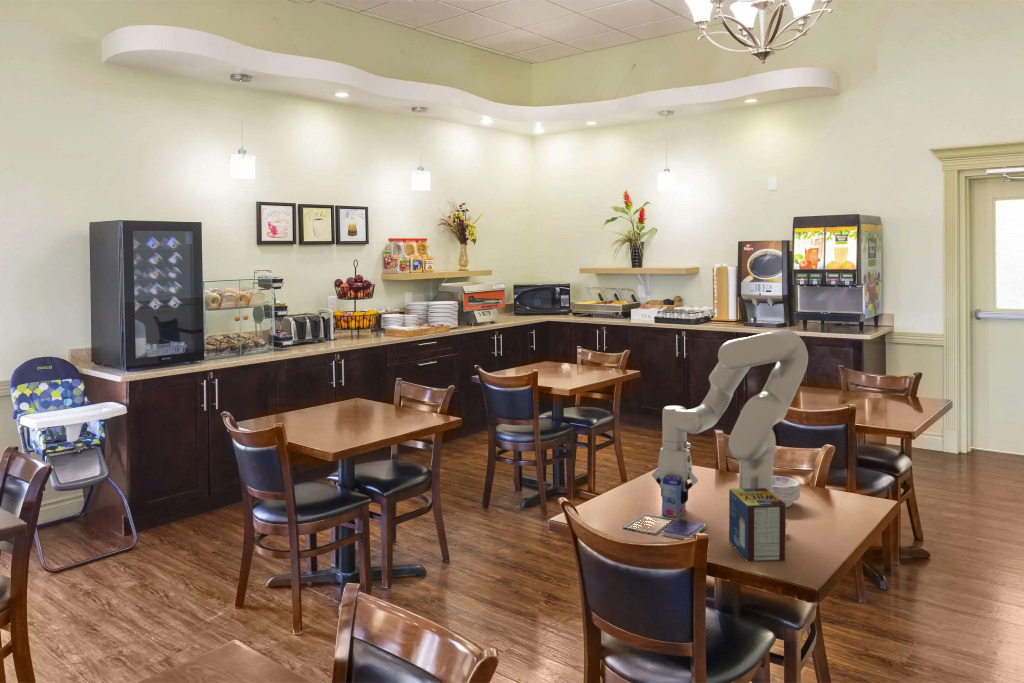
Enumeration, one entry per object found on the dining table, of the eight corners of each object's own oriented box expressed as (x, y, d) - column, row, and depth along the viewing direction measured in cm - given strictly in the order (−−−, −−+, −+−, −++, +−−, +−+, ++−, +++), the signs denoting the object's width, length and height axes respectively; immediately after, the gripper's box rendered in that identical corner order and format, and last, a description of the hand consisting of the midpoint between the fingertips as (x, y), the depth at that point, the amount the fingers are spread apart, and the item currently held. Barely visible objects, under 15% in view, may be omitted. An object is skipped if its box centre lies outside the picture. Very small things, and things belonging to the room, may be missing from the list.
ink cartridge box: (678, 518, 238) (678, 472, 237) (661, 515, 241) (661, 470, 239) (687, 509, 247) (687, 464, 245) (670, 506, 249) (670, 463, 248)
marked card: (675, 521, 235) (675, 519, 235) (655, 535, 223) (655, 533, 223) (644, 515, 241) (644, 513, 241) (622, 528, 229) (622, 526, 229)
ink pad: (706, 527, 229) (706, 523, 228) (689, 540, 218) (689, 535, 218) (678, 522, 234) (678, 518, 233) (661, 535, 223) (661, 530, 223)
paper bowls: (792, 497, 257) (792, 474, 256) (805, 511, 242) (805, 487, 241) (746, 497, 258) (746, 473, 258) (755, 511, 243) (756, 486, 242)
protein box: (764, 540, 218) (765, 487, 216) (785, 561, 202) (786, 503, 201) (728, 541, 217) (728, 488, 216) (746, 562, 202) (747, 505, 200)
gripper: (705, 445, 240) (704, 502, 241) (654, 439, 250) (654, 493, 251) (696, 450, 233) (695, 508, 235) (644, 444, 243) (644, 499, 245)
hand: (674, 500), depth 243 cm, fingers closed on ink cartridge box, 5 cm apart
